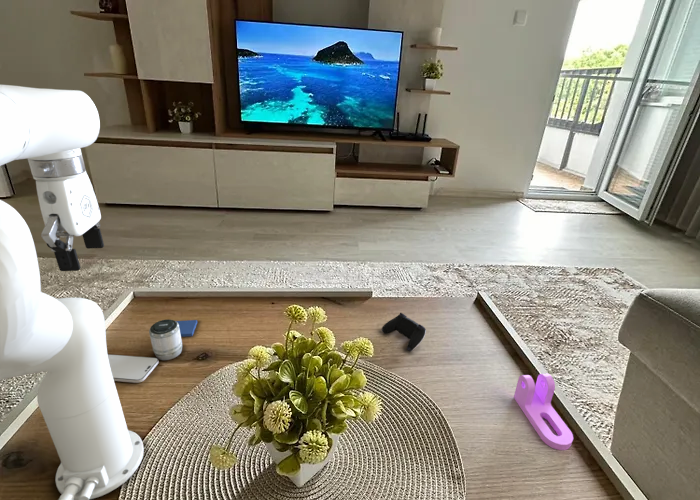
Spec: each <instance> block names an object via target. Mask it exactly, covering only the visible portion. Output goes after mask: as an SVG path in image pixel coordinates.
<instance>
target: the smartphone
mask: <svg viewBox="0 0 700 500" xmlns="http://www.w3.org/2000/svg"><path fill="white" fill-rule="evenodd" d="M107 354H108V359H109V364H110V368H111V372H112V376H113V379H114V382H123V383H134V384H135V383H136V384H138V383H143V382H144V381H145V380H146V379H147V378H148V376H150V374H151V373H152V372H153V371H154V370H155V368H156V367H157V366H158V364H159V363H160V362H159V359H158V358H157V357H149V356H148V357H147V356H136V355H135V356H134V355H124V354H123V355H122V354H110V353H107Z"/></svg>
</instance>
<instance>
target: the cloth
mask: <svg viewBox="0 0 700 500" xmlns="http://www.w3.org/2000/svg"><path fill="white" fill-rule="evenodd" d="M175 321H176V322H177V323H178V324H179V329H180V334H181V338H183V337H193V335H194V334H195V331H196V328H197V324H198V320H197V319H189V320H188V319H187V320H175Z"/></svg>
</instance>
